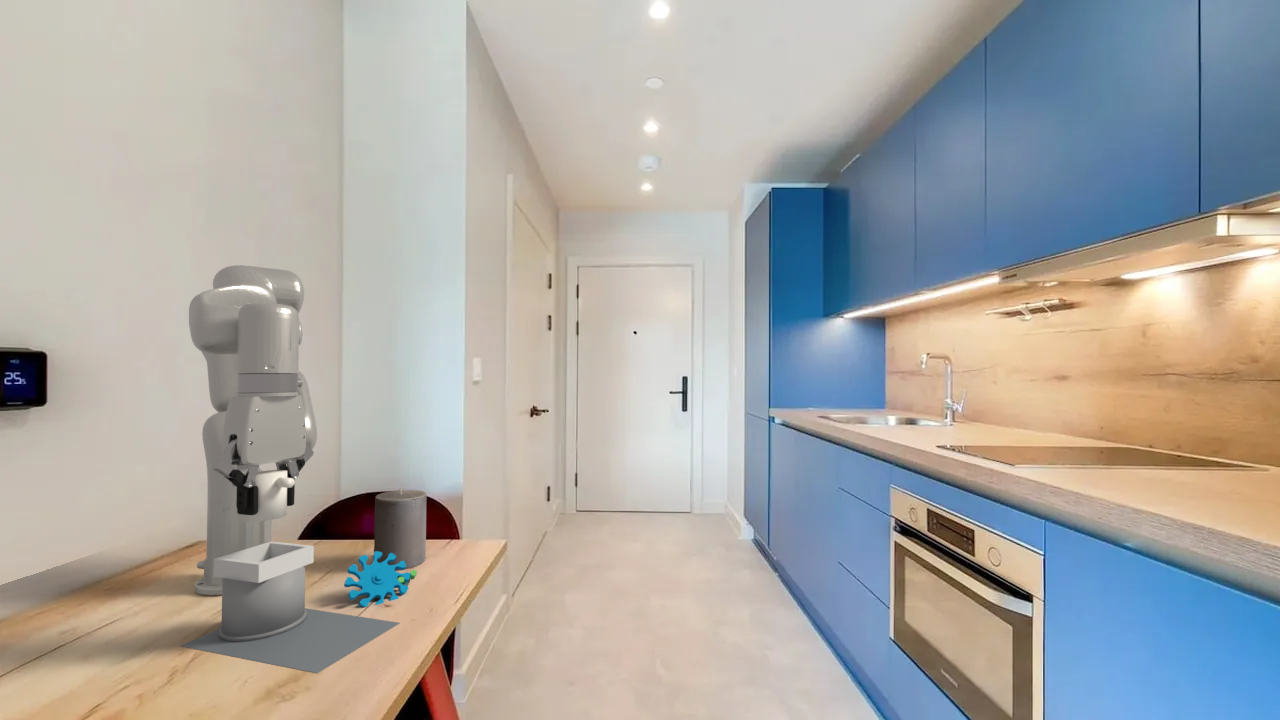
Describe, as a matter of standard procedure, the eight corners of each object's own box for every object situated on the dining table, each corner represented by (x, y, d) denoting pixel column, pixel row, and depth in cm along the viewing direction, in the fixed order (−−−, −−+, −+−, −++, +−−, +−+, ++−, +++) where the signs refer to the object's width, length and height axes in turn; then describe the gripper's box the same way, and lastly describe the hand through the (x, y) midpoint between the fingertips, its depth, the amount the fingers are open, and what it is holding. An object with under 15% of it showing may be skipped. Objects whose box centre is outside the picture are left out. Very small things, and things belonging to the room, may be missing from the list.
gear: (345, 609, 82) (346, 550, 88) (337, 628, 85) (338, 569, 91) (420, 601, 88) (415, 547, 95) (410, 619, 91) (406, 565, 98)
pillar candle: (362, 567, 105) (363, 490, 106) (401, 552, 114) (402, 481, 115) (399, 574, 101) (400, 495, 102) (436, 558, 110) (437, 485, 111)
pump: (237, 520, 77) (237, 474, 78) (269, 511, 82) (270, 469, 82) (273, 523, 75) (274, 476, 76) (305, 514, 80) (305, 471, 80)
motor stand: (178, 652, 72) (180, 567, 73) (275, 610, 86) (276, 537, 86) (317, 681, 65) (318, 586, 66) (400, 629, 79) (400, 550, 79)
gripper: (300, 386, 89) (299, 496, 88) (187, 387, 73) (184, 522, 72) (336, 385, 87) (334, 498, 86) (227, 387, 71) (225, 526, 70)
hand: (266, 508), depth 79 cm, fingers closed on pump, 5 cm apart
